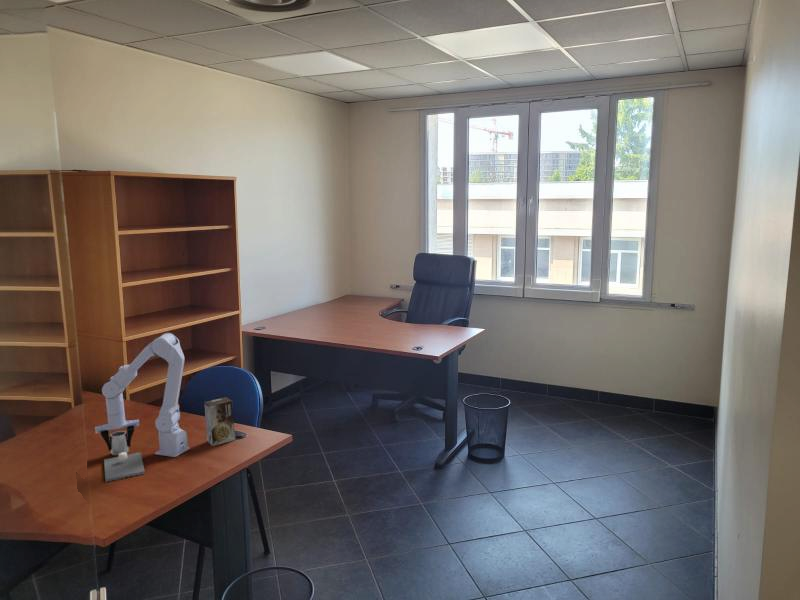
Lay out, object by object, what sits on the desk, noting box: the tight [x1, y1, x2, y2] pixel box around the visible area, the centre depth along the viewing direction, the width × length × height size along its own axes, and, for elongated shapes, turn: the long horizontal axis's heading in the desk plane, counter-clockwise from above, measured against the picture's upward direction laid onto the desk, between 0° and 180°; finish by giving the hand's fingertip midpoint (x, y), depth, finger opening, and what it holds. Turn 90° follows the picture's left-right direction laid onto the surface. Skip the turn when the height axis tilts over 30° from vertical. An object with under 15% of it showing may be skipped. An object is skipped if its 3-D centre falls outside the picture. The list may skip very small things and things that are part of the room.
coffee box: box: [203, 396, 236, 447], centre depth 224 cm, size 9×6×16 cm
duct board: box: [103, 451, 146, 483], centre depth 203 cm, size 12×18×4 cm, turn 28°
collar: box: [109, 430, 129, 456], centre depth 214 cm, size 6×6×7 cm
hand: (119, 447), depth 214 cm, fingers closed on collar, 6 cm apart
